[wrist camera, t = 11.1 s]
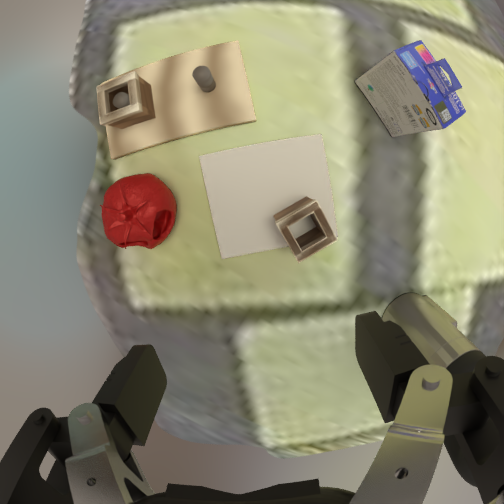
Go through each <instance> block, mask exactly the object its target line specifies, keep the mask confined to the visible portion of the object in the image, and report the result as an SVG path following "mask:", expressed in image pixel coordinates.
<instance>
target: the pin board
mask: <svg viewBox="0 0 504 504" xmlns="http://www.w3.org/2000/svg"><path fill="white" fill-rule="evenodd" d="M133 71H135V72H136V73H138V75H139V76H140V77H141V78H142V79H144V80H145V81H146V82H148V83H149V84H150V85H151V89H152V96H153V103H154V110H155V117H156V118H154V119H151V120H148V121H144V122H141V123H138V124H135V125H132V126H130V127H127V128H124V129H120V128H116V127H112V126H108V125H106V130H107V136H108V143H109V148H110V154H111V159H117V158H120V157H123V156H126V155H129V154H132V153H135V152H137V151H141V150H144V149H147V148H150V147H153V146H156V145H160V144H163V143H166V142H170V141H173V140H177V139H180V138H184V137H188V136H192V135H195V134H199V133H204V132H208V131H212V130H216V129H221V128H225V127H230V126H235V125H240V124H245V123H250V122H255V121H256V116H255V112H254V107H253V103H252V98H251V94H250V89H249V85H248V80H247V76H246V71H245V67H244V63H243V58H242V54H241V50H240V46H239V42H238V41H232V42H227V43H222V44H217V45H213V46H209V47H204V48H200V49H196V50H192V51H189V52H185V53H182V54H178V55H175V56H171V57H168V58H165V59H162V60H159V61H156V62H153V63H150V64H147V65H145V66H142V67H139V68H137V69H134V70H132V71H129V72H126V73H124V74H122V75H119V76H117V77H115V78H112V79H110V80H108V81H111V80H113V79H116V78H118V77H120V76H123V75H126V74H128V73H131V72H133ZM108 81H106V82H108ZM106 82H103V83H101V85H102V84H104V83H106ZM113 105H114V106H115V107H117V108H120V109H121V108H123V107H126V106H129V105H130V100H129V95H128V94H126V93H124V92H119V93H118V94H116V95H115V97H114V99H113Z"/></svg>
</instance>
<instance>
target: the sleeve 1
mask: <svg viewBox="0 0 504 504" xmlns="http://www.w3.org/2000/svg"><path fill="white" fill-rule="evenodd" d="M119 92H124V93H126V94H128V95H129V100H130V105H129V106H126V107H123V108H121V109H120V108H117V107H115V106H114V105H113V99H114V97H115V95H116V94H118V93H119ZM97 98H98V109H99V118H100V125H104V126H106V125H108V126H112V127H116V128H120V129H124V128H127V127H130V126H132V125H135V124H138V123H141V122H144V121H148V120H151V119H154V118H156V117H155V110H154V103H153V96H152V89H151V85H150V84H149V83H148V82H146V81H145V80H144V79H142V78H141V77H140V76H139V75H138V73H136V72H135V71H133V72H131V73H128V74H126V75H123V76H120V77H118V78H116V79H113V80H111V81H108V82H106V83H104V84H102V85H99V86H97Z"/></svg>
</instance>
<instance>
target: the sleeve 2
mask: <svg viewBox="0 0 504 504" xmlns="http://www.w3.org/2000/svg"><path fill="white" fill-rule="evenodd" d="M308 215H310V216H311V218H312V220H313V222H314V223H315V225H316V227H315V228H313V229H311V230H310V231H308V232H306V233H305V234H303V235H301V236H299V237H298V238H296V239H295V238H294V236H293V234H292V233H291V231H290V229H289V226H291V225H293V224H294V223H296V222H298V221H300V220H301V219H303V218H305V217H306V216H308ZM273 216H274V218H275V221H276V222H275V223H276V225H277V227H278V228H279V230H280V232H281V234H282V235H283V237H284V239H285V240H286V242H287V244H288V246H289V247H290V249H291V251H292V252H293V254H294V256H295V258H296V259H297V261H298V263H299V262H301V261H303V260H304V259H306V258H308V257H310V256H311V255H313V254H315V253H317V252H318V251H320V250H322V249H323V248H325V247H327V246H329V245H330V244H332V243H334V242H335V241H337V240H338V239H337V238H336V236H335V234H334V232H333V230H332V228H331V226H330V224H329V222H328V220H327V218H326V216H325V214H324V212H323V211H322V209H321V207H320V205H319V203H318V201H317V200H316V199H314V200H313V199H311V198H309V197H307V196H306V197H304V198H302V199H301V200H299V201H297V202H295V203H294V204H292V205H290V206H289V207H287V208H285V209H283V210H282V211H280V212H278V213H276V214H275V215H273Z"/></svg>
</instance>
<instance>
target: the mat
mask: <svg viewBox="0 0 504 504" xmlns="http://www.w3.org/2000/svg"><path fill="white" fill-rule="evenodd" d="M199 158H200V163H201V168H202V173H203V177H204V182H205V187H206V191H207V196H208V200H209V205H210V209H211V214H212V218H213V223H214V227H215V232H216V236H217V240H218V244H219V249H220V253H221V257H222V259H225V258H230V257H235V256H241V255H246V254H251V253H257V252H262V251H267V250H273V249H278V248H283V247H289V246H288V244H287V242H286V240H285V239H284V237H283V235H282V234H281V232H280V230H279V228H278V227H277V225H276V223H275V222H276V221H275V218H274V216H273V215H275V214H276V213H278V212H280V211H282V210H283V209H285V208H287V207H289V206H290V205H292V204H294V203H295V202H297V201H299V200H301V199H302V198H304V197H306V196H307V197H309V198H311V199H313V200H314V199H316V200H317V201H318V203H319V205H320V207H321V209H322V211H323V212H324V214H325V216H326V218H327V220H328V222H329V224H330V226H331V228H332V230H333V232H334V234H335V236H336V238H337V237H338V233H337V225H336V217H335V209H334V202H333V195H332V189H331V183H330V176H329V170H328V165H327V159H326V154H325V148H324V143H323V138H322V134H317V135H309V136H301V137H294V138H288V139H281V140H275V141H269V142H263V143H258V144H252V145H247V146H242V147H237V148H232V149H228V150H223V151H219V152H214V153H210V154H206V155H201V156H199ZM315 227H316V225H315V223H314V222H313V220H312V218H311V216H310V215H308V216H306V217H305V218H303V219H301V220H300V221H298V222H296V223H294V224H293V225H291V226H289V229H290V231H291V233H292V234H293V236H294V238H295V239H296V238H298V237H299V236H301V235H303V234H305V233H306V232H308V231H310V230H311V229H313V228H315Z"/></svg>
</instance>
